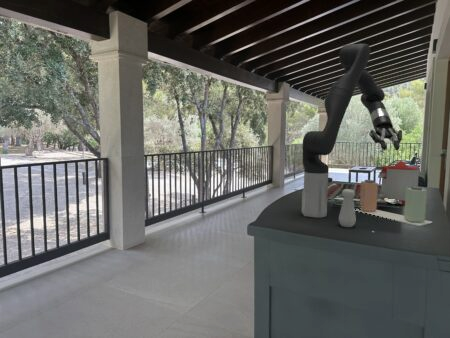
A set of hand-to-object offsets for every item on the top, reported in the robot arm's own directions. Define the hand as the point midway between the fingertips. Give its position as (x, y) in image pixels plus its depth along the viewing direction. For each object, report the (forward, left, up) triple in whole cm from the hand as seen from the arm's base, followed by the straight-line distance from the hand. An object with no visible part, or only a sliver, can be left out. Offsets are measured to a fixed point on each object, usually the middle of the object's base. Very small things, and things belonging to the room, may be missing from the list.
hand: (391, 148), depth 145 cm
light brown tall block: (-10, -4, -26) cm, 28 cm away
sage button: (+1, -20, -26) cm, 33 cm away
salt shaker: (-26, -27, -26) cm, 46 cm away
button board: (-4, -12, -26) cm, 29 cm away
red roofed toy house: (+10, +15, -26) cm, 32 cm away
